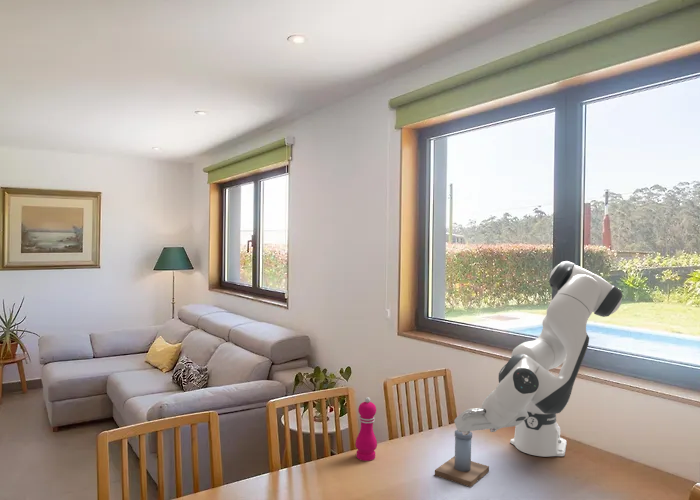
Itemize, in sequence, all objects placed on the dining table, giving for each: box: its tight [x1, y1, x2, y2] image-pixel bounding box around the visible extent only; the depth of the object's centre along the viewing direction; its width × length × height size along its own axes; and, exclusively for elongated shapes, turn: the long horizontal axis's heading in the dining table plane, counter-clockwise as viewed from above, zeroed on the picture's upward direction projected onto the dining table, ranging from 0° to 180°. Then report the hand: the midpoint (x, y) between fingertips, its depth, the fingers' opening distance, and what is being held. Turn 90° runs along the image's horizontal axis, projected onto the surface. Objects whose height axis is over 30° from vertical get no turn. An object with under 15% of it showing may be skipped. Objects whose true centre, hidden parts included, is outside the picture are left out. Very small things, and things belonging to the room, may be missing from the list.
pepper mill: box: [355, 396, 378, 462], centre depth 172 cm, size 7×7×20 cm
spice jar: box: [454, 429, 473, 472], centre depth 162 cm, size 5×5×11 cm
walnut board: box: [434, 455, 490, 488], centre depth 162 cm, size 14×12×2 cm
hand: (478, 431), depth 153 cm, fingers open, 8 cm apart
